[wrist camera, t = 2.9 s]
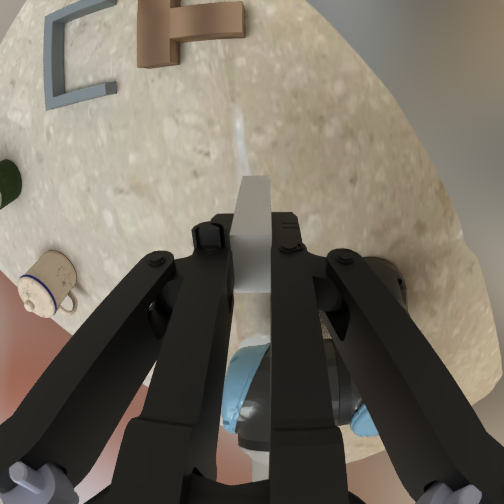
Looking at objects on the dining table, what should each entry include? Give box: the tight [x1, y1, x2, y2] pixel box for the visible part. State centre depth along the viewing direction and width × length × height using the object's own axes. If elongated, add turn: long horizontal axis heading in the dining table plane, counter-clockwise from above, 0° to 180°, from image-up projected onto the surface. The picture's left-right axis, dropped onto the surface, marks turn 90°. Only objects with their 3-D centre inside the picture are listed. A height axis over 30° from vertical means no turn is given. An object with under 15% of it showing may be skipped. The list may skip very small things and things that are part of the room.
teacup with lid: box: [18, 251, 78, 318], centre depth 43 cm, size 12×9×12 cm
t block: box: [137, 0, 245, 69], centre depth 25 cm, size 12×10×4 cm
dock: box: [43, 0, 117, 111], centre depth 26 cm, size 11×15×3 cm
